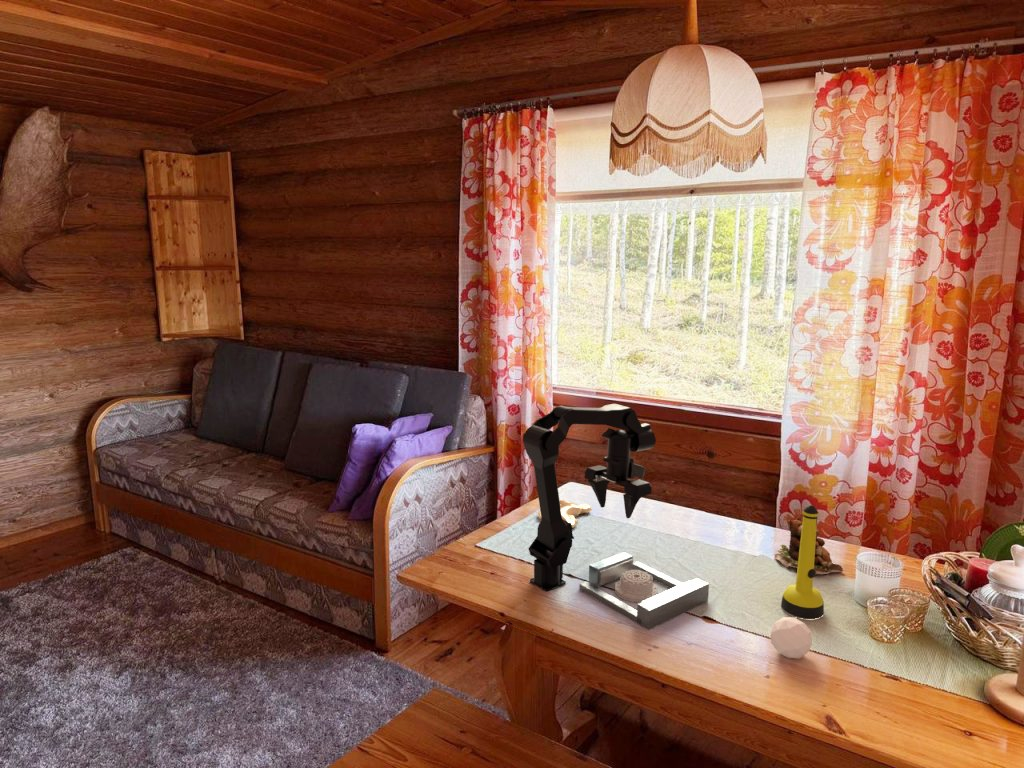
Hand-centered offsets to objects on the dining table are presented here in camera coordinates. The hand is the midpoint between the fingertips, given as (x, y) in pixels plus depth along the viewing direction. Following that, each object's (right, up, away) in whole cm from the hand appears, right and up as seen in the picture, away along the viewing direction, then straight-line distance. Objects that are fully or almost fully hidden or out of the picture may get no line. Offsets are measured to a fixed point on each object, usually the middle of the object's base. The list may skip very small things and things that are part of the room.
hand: (615, 512), depth 175 cm
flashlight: (+39, -18, -22) cm, 48 cm away
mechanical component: (+3, -17, -14) cm, 22 cm away
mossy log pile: (+50, -14, 0) cm, 52 cm away
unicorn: (-10, -8, +31) cm, 33 cm away
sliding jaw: (-2, -15, -7) cm, 17 cm away
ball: (+29, -21, -39) cm, 53 cm away
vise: (+3, -16, -15) cm, 22 cm away
